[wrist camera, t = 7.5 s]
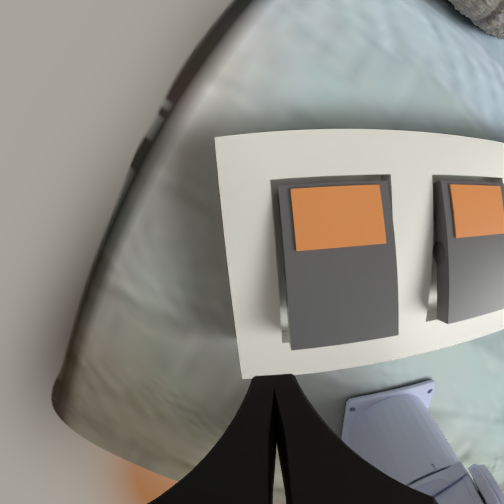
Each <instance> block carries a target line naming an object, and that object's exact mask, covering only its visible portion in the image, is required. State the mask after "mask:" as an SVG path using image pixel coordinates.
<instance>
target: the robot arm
mask: <svg viewBox="0 0 504 504" xmlns="http://www.w3.org/2000/svg"><path fill="white" fill-rule="evenodd" d="M435 386H436V382H435V381H434V380H428V381H425V382H421V383H417V384H414V385H410V386H406V387H402V388H398V389H394V390H389V391H385V392H380V393H375V394H370V395H365V396H360V397H355V398H351V399H349V400H348V401H347V402H346V407H345V415H344V422H343V429H342V436H341V439H340V438H339V437H338V436H337V435H336V434H335V433H334V432H333V431H332V430H331V429H330V427H329V426H328V425H327V424H326V423H325V422H324V421H323V419H322V418H321V417H320V416H319V414H318V413H317V412H316V410H315V409H314V408H313V406H312V405H311V404H310V402H309V401H308V399H307V398H306V396H305V394H304V393H303V391H302V389H301V388H300V386H299V384H298V382H297V380H296V378H295V376H294V375H293V374H279V375H264V376H254V377H253V378H252V380H251V383H250V386H249V389H248V391H247V394H246V396H245V398H244V400H243V402H242V404H241V406H240V408H239V410H238V412H237V413H236V415H235V417H234V419H233V420H232V422H231V423H230V425H229V426H228V428H227V429H226V431H225V432H224V434H223V435H222V437H221V438H220V439H219V441H218V442H217V443H216V444H215V446H214V447H213V448H212V449H211V451H210V452H209V453H208V454H207V455H206V456H205V457H204V458H203V459H202V460H201V461H200V463H199V464H198V465H197V466H196V467H195V468H194V469H193V470H192V471H190V472H189V473H188V474H187V475H186V476H185V477H184V478H183V479H181V480H180V481H179V482H178V483H176V484H175V485H174V486H172V487H171V488H170V489H169V490H167V491H166V492H165V493H163V494H162V495H161V496H159V497H158V498H156V499H155V500H153V501H151V502H150V503H148V504H273V484H274V472H275V458H276V443H277V447H278V453H279V459H280V465H281V471H282V477H283V483H284V489H285V496H286V504H504V494H503V492H502V491H501V489H500V487H499V485H498V484H497V482H496V481H495V479H494V477H493V476H492V474H491V473H490V471H489V470H488V468H487V467H486V466H485V465H477V464H473V465H472V466H471V467H469V468H468V469H469V471H470V473H471V475H472V477H473V480H474V482H475V483H474V482H473V480H472V478H471V476H470V475H469V473H468V472H467V470H466V469H465V467H464V466H463V464H462V463H461V462H460V461H459V459H458V457H457V456H456V454H455V452H454V451H453V449H452V447H451V446H450V444H449V443H448V441H447V439H446V438H445V436H444V434H443V433H442V431H441V430H440V428H439V426H438V425H437V423H436V422H435V420H434V418H433V417H432V415H431V414H430V412H429V411H428V409H429V406H430V402H431V399H432V396H433V393H434V389H435ZM429 389H430V390H429ZM352 407H354V408H352ZM351 408H352V409H351ZM475 484H476V485H475ZM476 486H477V487H476ZM477 488H478V489H477Z"/></svg>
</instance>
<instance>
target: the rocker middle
mask: <svg viewBox="0 0 504 504" xmlns="http://www.w3.org/2000/svg"><path fill="white" fill-rule="evenodd" d="M433 220H434V231H435V244H434V247H433V256H434V259H435V261H436V263H437V317H436V319H437V320H440V321H442V322H444V323H446V324H451V323H455V322H459V321H463V320H467V319H470V318H474V317H478V316H481V315H485V314H488V313H492V312H495V311H498V310H502V309H504V183H494V182H472V181H439V182H436V183H433Z"/></svg>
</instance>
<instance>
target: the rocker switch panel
mask: <svg viewBox="0 0 504 504" xmlns="http://www.w3.org/2000/svg"><path fill="white" fill-rule="evenodd" d="M215 149H216V159H217V170H218V180H219V190H220V200H221V210H222V219H223V228H224V238H225V247H226V255H227V264H228V272H229V281H230V289H231V297H232V305H233V313H234V321H235V329H236V336H237V344H238V351H239V359H240V366H241V373H242V379H251V378H253V377H254V376H264V375H279V374H293V375H300V374H309V373H318V372H326V371H333V370H340V369H346V368H353V367H359V366H365V365H370V364H376V363H381V362H386V361H391V360H396V359H400V358H405V357H409V356H414V355H418V354H422V353H426V352H430V351H434V350H438V349H442V348H445V347H449V346H453V345H456V344H459V343H463V342H466V341H469V340H473V339H476V338H479V337H482V336H485V335H488V334H491V333H494V332H497V331H500V330H502V329H504V309H502V310H498V311H495V312H492V313H488V314H485V315H481V316H478V317H474V318H470V319H467V320H463V321H459V322H455V323H451V324H446V323H444V322H442V321H440V320H437V319H436V317H437V263H436V261H435V259H434V256H433V247H434V244H435V231H434V220H433V183H436V182H439V181H472V182H494V183H504V143H502V142H497V141H491V140H485V139H479V138H472V137H465V136H457V135H449V134H439V133H429V132H417V131H402V130H381V129H311V130H289V131H273V132H260V133H249V134H239V135H229V136H221V137H215ZM353 181H388V187H389V194H390V201H391V208H392V217H393V225H394V235H395V246H396V259H397V275H398V304H399V335H397V336H391V337H386V338H380V339H374V340H368V341H362V342H355V343H349V344H342V345H334V346H327V347H318V348H310V349H301V350H291V347H290V344H289V332H288V317H287V302H286V289H285V278H284V268H283V252H282V240H281V229H280V218H279V208H278V197H277V189H278V186H282V185H296V184H312V183H330V182H353Z"/></svg>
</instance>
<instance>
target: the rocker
mask: <svg viewBox="0 0 504 504" xmlns="http://www.w3.org/2000/svg"><path fill="white" fill-rule="evenodd" d="M277 197H278V208H279V218H280V229H281V240H282V252H283V268H284V278H285V289H286V302H287V317H288V332H289V344H290V347H291V350H301V349H310V348H318V347H327V346H334V345H342V344H349V343H355V342H362V341H368V340H374V339H380V338H386V337H391V336H397V335H399V304H398V275H397V259H396V246H395V235H394V225H393V217H392V208H391V201H390V194H389V187H388V181H353V182H330V183H312V184H296V185H282V186H278V189H277Z"/></svg>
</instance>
